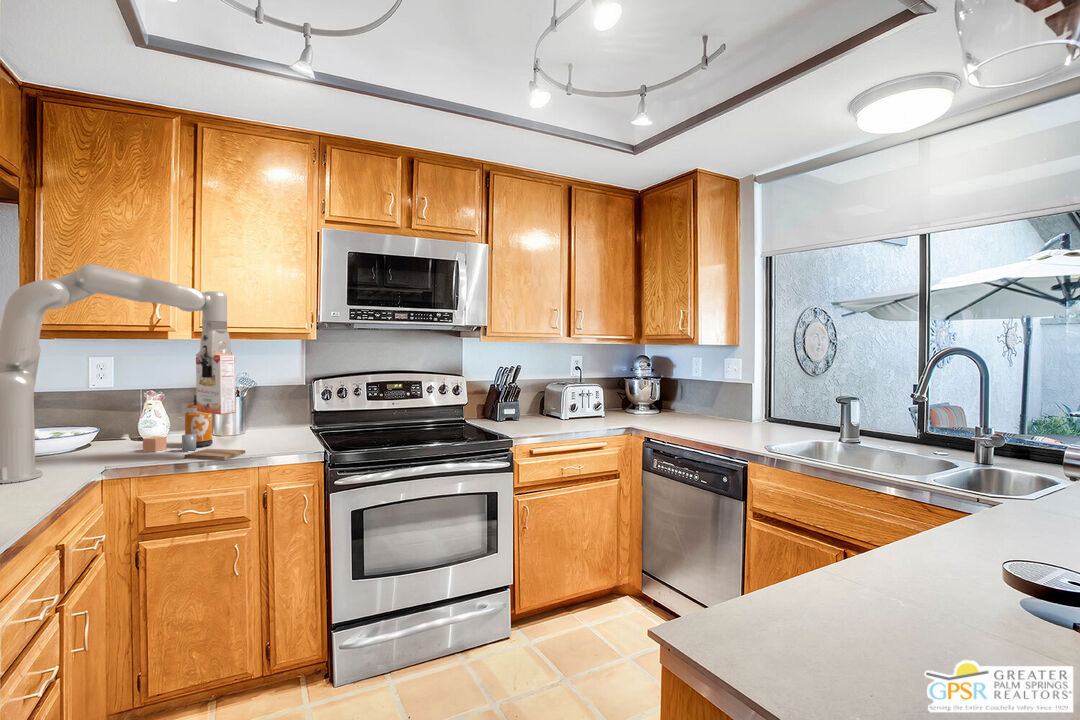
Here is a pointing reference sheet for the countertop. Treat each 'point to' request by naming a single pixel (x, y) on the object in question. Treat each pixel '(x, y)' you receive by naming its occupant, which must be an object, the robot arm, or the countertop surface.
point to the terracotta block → (154, 444)
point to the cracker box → (217, 386)
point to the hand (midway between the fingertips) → (215, 376)
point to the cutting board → (215, 454)
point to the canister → (198, 424)
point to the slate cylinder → (188, 442)
